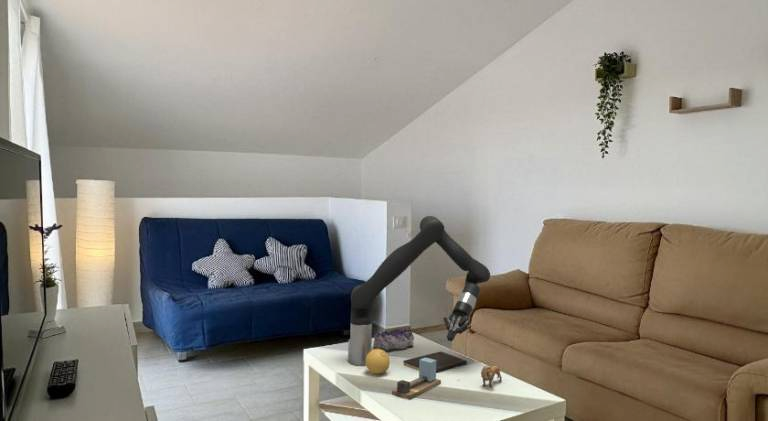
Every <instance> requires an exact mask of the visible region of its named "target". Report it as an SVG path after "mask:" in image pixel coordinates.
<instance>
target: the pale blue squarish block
mask: <svg viewBox="0 0 768 421" xmlns="http://www.w3.org/2000/svg"><path fill="white" fill-rule="evenodd" d="M418 372H419V373H418V378H419V379H422V378H424V377H427V381H429V382H431V381H433V380H435V379H437V373H436V360H433V359H429V358H423V359H420V360H419V371H418Z"/></svg>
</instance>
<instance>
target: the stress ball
mask: <svg viewBox="0 0 768 421" xmlns="http://www.w3.org/2000/svg"><path fill="white" fill-rule="evenodd" d="M365 363H366V365H365V367H366V369H367V371H369V372H370V373H371V374H375V375H382V374H385V373H386V372H387V371H388V370H389V368H390V367H389V366H390V364H391V363H390V356H389V354H388V352H387V351H384V350H381V349H376V348H373V349H371V351H370V352H369V353H368V355H367V356H366V360H365Z"/></svg>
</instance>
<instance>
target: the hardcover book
mask: <svg viewBox="0 0 768 421" xmlns="http://www.w3.org/2000/svg"><path fill="white" fill-rule="evenodd" d="M423 358H429V359H433V360H436V374H438V373H442V372H446V371H449V370H452V369H456V368H460V367H464V366H467V364H468V361H467V360H466V359H463V358H461V357H458V356H455V355H452V354H449V353H447V352H443V351H437V352H432V353H429V354H425V355H420V356H417V357H413V358H412V357H411V358H409V359H405V360H404V359H403V360H402V362H403V366H406V367H408V368H411V369H413V370H415V371H417V370H418V372H419V360H420V359H423Z"/></svg>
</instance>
